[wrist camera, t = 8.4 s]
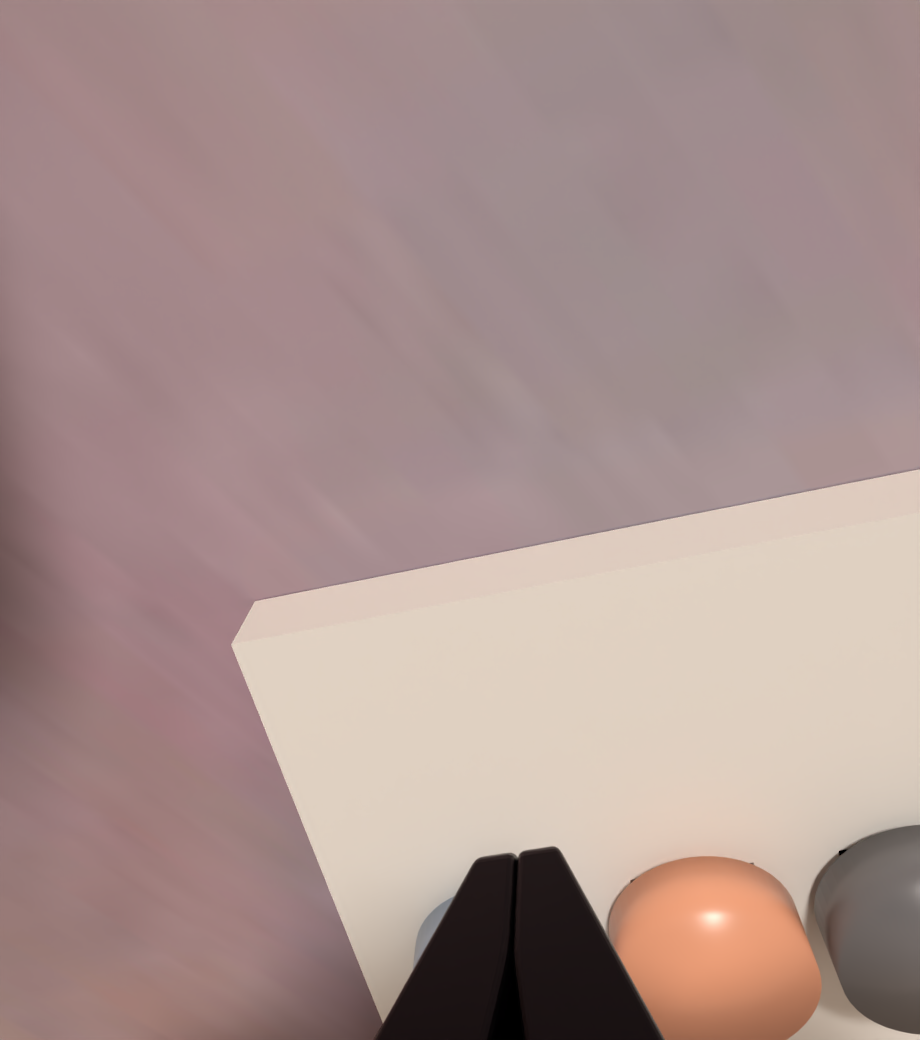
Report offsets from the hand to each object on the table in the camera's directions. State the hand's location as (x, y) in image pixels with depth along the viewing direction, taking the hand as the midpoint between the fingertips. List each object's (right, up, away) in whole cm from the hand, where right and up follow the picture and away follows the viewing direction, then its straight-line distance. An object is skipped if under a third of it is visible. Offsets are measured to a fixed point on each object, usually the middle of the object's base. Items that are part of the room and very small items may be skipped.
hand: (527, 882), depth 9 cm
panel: (+5, -5, +15) cm, 17 cm away
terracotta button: (+5, -6, +15) cm, 17 cm away
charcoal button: (+10, -5, +14) cm, 18 cm away
